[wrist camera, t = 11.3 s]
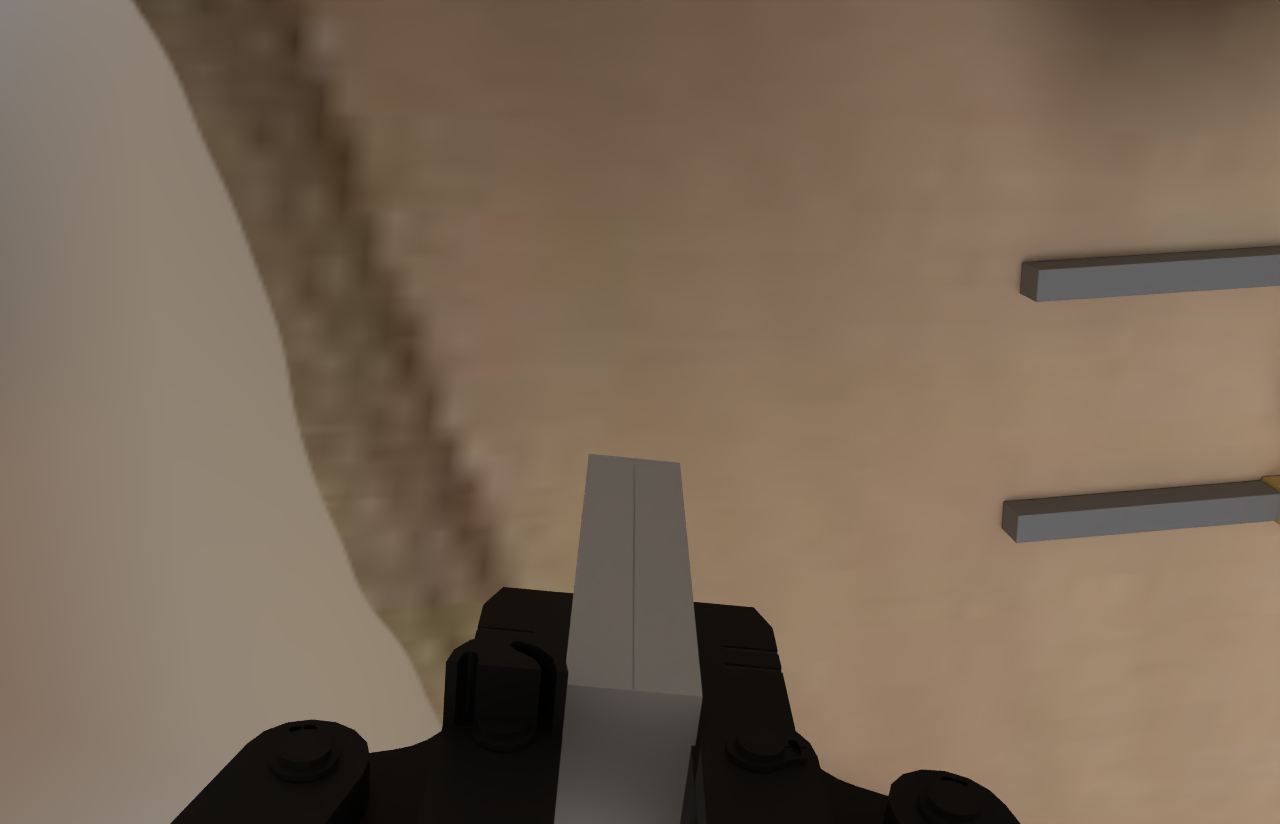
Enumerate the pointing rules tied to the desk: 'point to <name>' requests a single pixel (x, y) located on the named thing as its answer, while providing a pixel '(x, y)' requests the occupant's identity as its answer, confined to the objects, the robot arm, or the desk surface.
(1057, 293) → the u-shaped rail frame
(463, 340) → the desk surface
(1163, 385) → the desk surface
